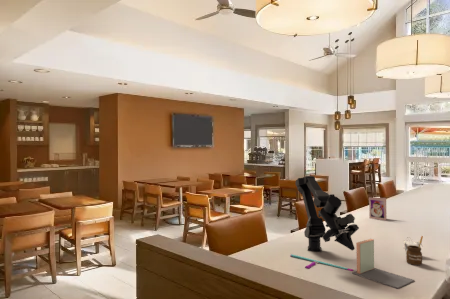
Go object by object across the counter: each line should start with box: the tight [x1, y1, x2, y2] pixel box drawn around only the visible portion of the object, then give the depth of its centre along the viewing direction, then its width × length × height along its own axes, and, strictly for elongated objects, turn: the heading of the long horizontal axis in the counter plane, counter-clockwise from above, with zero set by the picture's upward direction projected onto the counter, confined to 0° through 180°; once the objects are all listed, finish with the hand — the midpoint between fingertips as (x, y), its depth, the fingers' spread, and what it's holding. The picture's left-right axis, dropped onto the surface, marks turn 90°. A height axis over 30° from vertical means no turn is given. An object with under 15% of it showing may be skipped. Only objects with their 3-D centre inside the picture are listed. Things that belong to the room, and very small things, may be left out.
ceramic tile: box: [355, 238, 375, 274], centre depth 131 cm, size 2×10×12 cm, turn 124°
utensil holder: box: [405, 235, 424, 266], centre depth 141 cm, size 6×6×12 cm
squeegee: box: [290, 253, 354, 272], centre depth 138 cm, size 29×2×10 cm
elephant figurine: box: [403, 240, 424, 253], centre depth 152 cm, size 8×10×7 cm
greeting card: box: [368, 197, 387, 221], centre depth 233 cm, size 11×7×15 cm, turn 43°
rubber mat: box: [351, 267, 415, 290], centre depth 125 cm, size 18×12×1 cm, turn 34°
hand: (353, 249), depth 135 cm, fingers closed
